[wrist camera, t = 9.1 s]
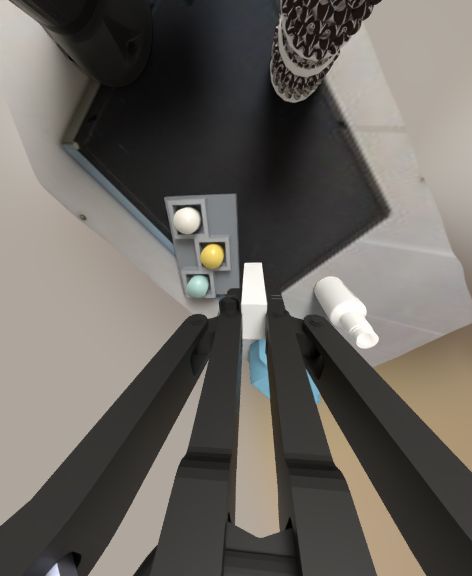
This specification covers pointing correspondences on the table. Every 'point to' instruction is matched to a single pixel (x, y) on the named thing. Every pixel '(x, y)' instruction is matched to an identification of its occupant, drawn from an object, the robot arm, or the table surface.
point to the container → (261, 372)
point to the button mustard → (212, 255)
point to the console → (207, 240)
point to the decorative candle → (311, 42)
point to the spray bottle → (345, 311)
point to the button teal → (198, 285)
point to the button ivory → (187, 220)
